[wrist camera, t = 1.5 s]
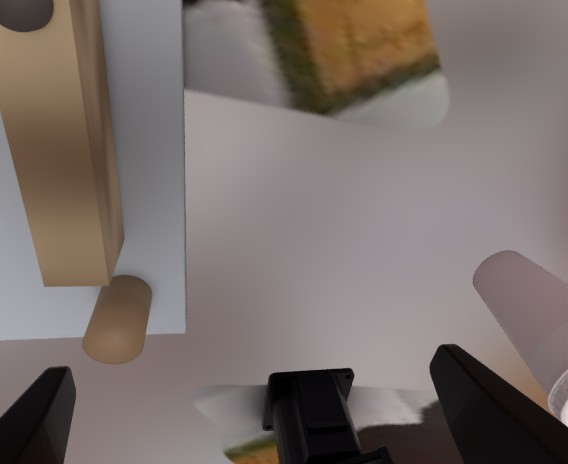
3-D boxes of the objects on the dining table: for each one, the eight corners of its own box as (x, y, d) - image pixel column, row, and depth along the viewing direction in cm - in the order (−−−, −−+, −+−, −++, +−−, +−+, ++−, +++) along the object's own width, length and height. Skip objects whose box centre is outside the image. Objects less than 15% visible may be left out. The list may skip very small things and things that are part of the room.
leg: (14, -52, 13) (-56, -68, 9) (94, -40, 13) (55, -52, 10) (70, 239, 18) (39, 295, 15) (124, 239, 19) (106, 294, 15)
